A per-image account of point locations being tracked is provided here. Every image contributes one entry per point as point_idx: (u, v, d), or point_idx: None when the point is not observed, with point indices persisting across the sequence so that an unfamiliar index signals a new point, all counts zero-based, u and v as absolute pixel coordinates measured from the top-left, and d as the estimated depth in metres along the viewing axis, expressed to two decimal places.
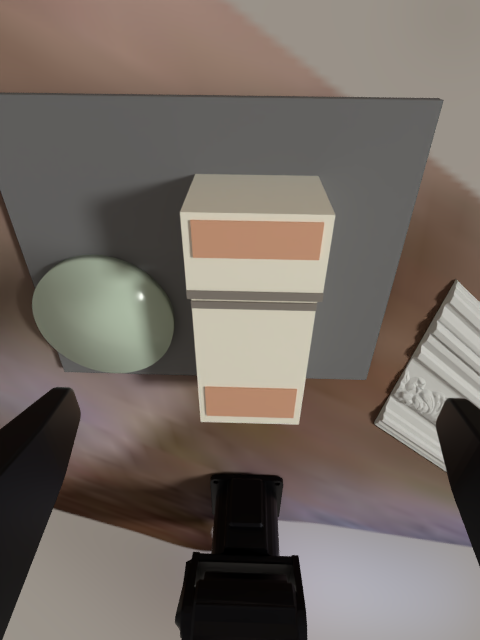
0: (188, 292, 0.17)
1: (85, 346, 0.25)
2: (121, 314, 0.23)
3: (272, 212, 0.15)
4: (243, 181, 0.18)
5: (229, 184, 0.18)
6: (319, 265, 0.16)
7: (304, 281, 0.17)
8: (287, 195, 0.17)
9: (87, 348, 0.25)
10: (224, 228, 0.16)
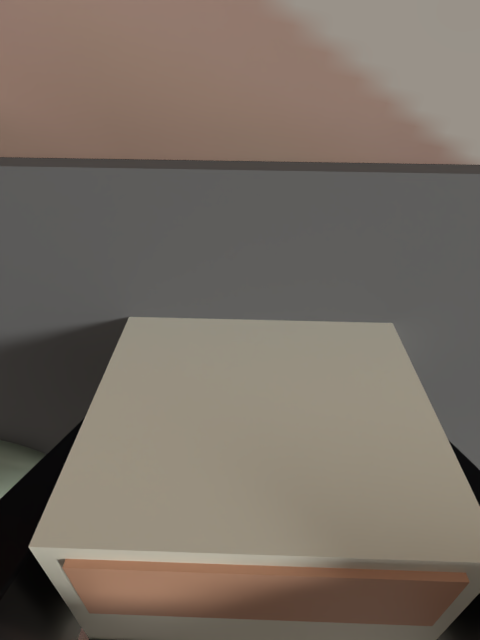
0: None
1: None
2: None
3: (309, 543, 0.05)
4: (230, 349, 0.08)
5: (197, 364, 0.08)
6: None
7: (382, 639, 0.07)
8: (339, 422, 0.07)
9: None
10: (167, 573, 0.05)
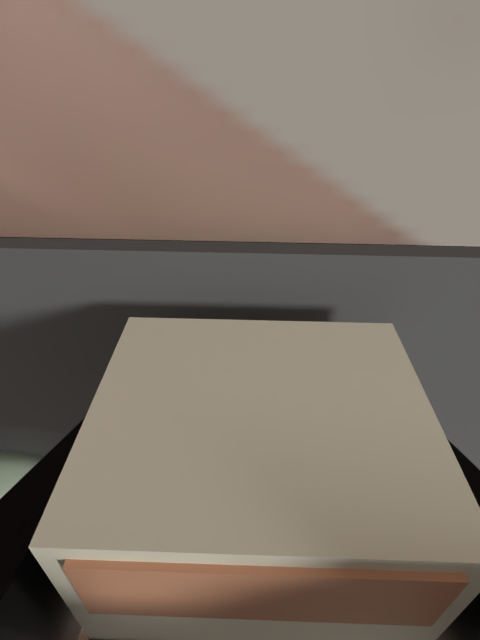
0: None
1: None
2: None
3: (308, 544, 0.05)
4: (230, 349, 0.08)
5: (197, 364, 0.08)
6: None
7: None
8: (339, 422, 0.07)
9: None
10: (167, 573, 0.05)
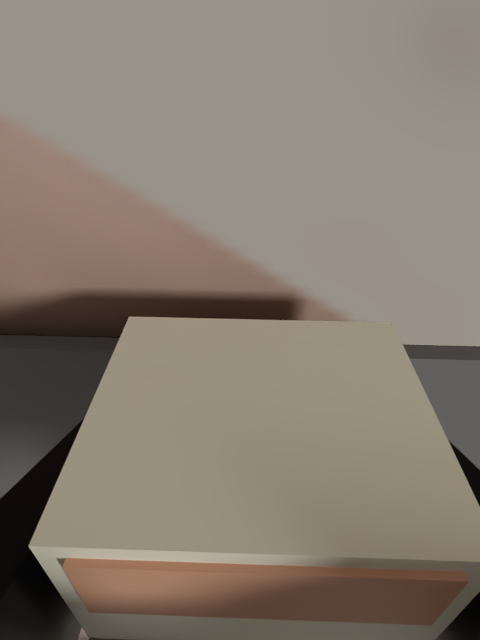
0: None
1: None
2: None
3: (309, 543, 0.05)
4: (230, 348, 0.08)
5: (197, 363, 0.08)
6: None
7: (382, 639, 0.07)
8: (339, 422, 0.07)
9: None
10: (167, 572, 0.05)
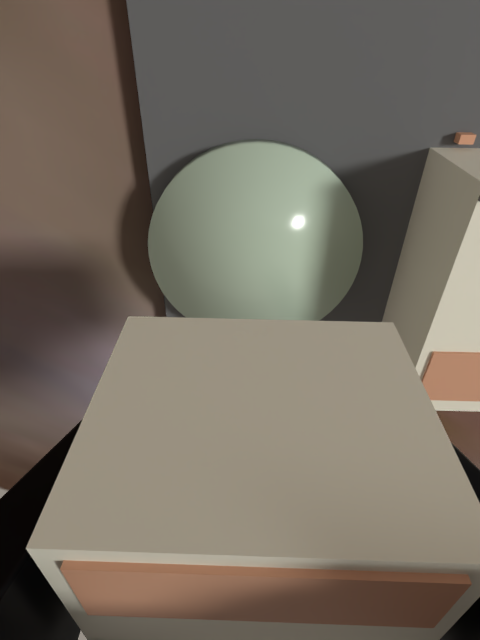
0: None
1: (217, 297, 0.17)
2: (286, 242, 0.15)
3: (310, 545, 0.05)
4: (230, 348, 0.08)
5: (197, 363, 0.08)
6: None
7: None
8: (339, 422, 0.07)
9: (218, 300, 0.17)
10: (166, 575, 0.05)
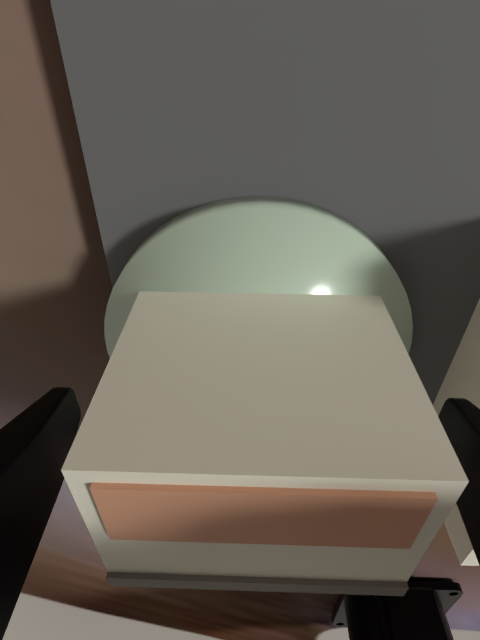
0: (112, 575, 0.08)
1: None
2: None
3: (300, 467, 0.06)
4: (232, 317, 0.09)
5: (202, 329, 0.09)
6: (407, 550, 0.07)
7: (368, 568, 0.08)
8: (329, 375, 0.07)
9: None
10: (179, 496, 0.06)
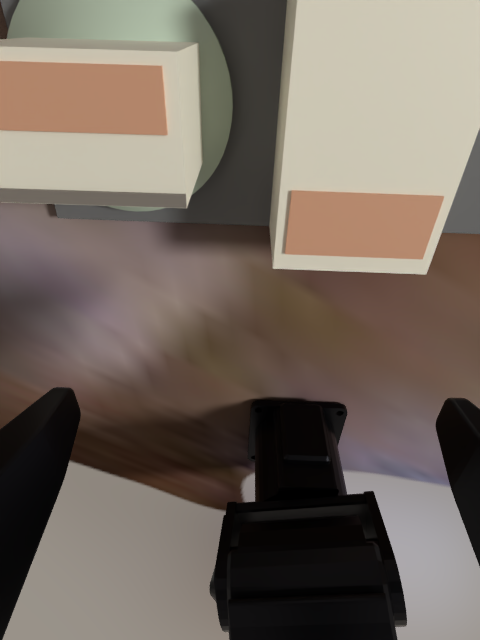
0: None
1: None
2: None
3: (81, 48, 0.10)
4: (85, 40, 0.13)
5: (60, 40, 0.13)
6: (171, 145, 0.11)
7: (154, 173, 0.12)
8: (130, 45, 0.11)
9: None
10: (12, 77, 0.10)
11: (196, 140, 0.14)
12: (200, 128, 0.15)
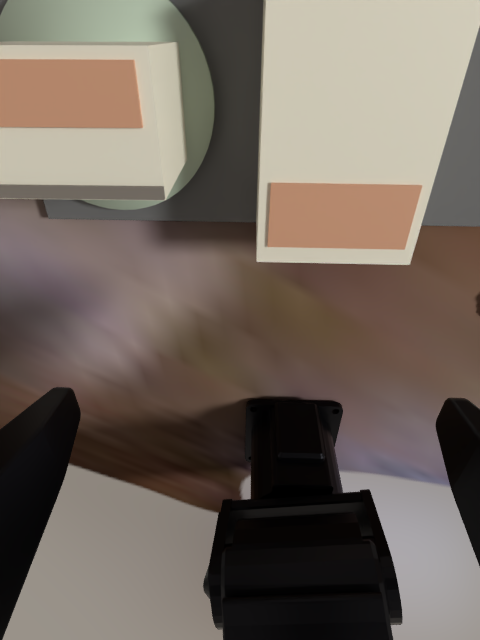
0: None
1: None
2: None
3: (56, 45, 0.10)
4: None
5: (42, 42, 0.13)
6: (147, 138, 0.11)
7: (132, 166, 0.12)
8: (107, 43, 0.12)
9: None
10: None
11: (177, 136, 0.14)
12: (182, 125, 0.15)
